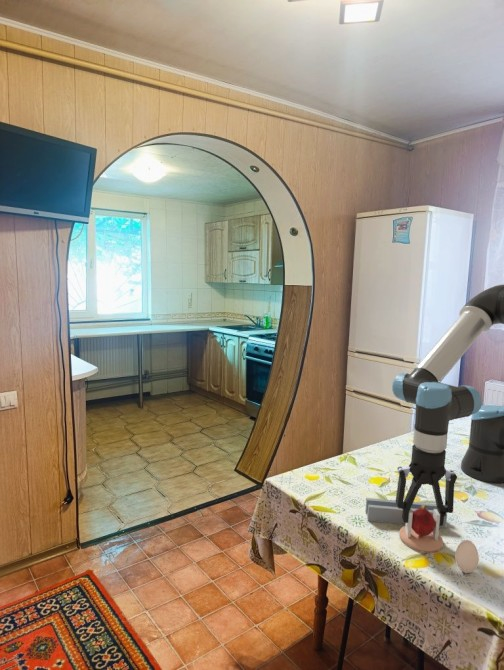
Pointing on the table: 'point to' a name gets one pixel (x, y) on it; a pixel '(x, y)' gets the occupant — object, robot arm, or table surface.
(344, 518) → the table surface
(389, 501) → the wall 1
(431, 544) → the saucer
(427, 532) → the onion
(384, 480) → the table surface
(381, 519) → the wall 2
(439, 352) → the robot arm
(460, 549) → the egg
